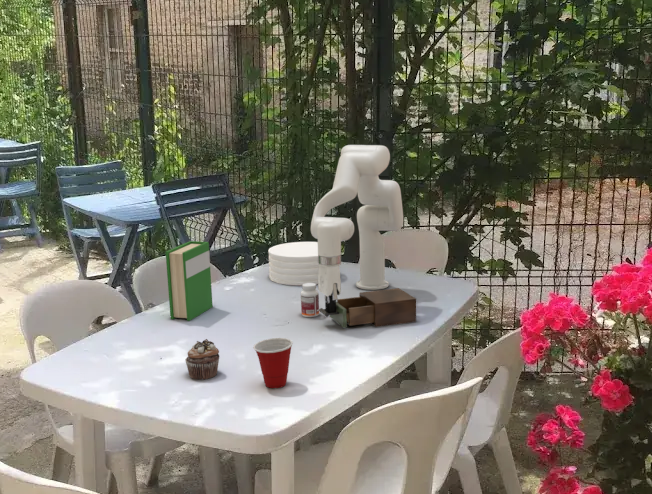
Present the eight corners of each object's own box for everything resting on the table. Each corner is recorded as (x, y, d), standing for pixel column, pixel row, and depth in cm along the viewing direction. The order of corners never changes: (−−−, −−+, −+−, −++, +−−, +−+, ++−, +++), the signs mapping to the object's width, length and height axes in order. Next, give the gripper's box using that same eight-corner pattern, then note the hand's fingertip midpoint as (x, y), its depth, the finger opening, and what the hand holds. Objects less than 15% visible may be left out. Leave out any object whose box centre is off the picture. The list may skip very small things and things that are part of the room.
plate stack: (258, 282, 342) (256, 254, 339) (285, 266, 367) (284, 240, 364) (323, 287, 331) (323, 258, 328) (347, 270, 356) (347, 243, 353)
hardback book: (189, 320, 295) (184, 252, 288) (170, 319, 297) (165, 251, 291) (212, 306, 311) (208, 242, 304) (194, 305, 313) (190, 241, 307)
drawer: (329, 329, 278) (328, 311, 276) (316, 318, 290) (315, 300, 288) (381, 323, 283) (381, 304, 281) (366, 312, 295) (366, 294, 294)
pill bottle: (311, 311, 301) (310, 281, 298) (322, 315, 297) (322, 284, 294) (297, 315, 298) (296, 284, 295) (309, 318, 293) (308, 287, 290)
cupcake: (206, 366, 251) (204, 333, 248) (227, 374, 244) (225, 340, 242) (179, 375, 245) (177, 341, 242) (200, 383, 238) (198, 349, 235)
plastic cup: (254, 378, 240) (252, 337, 237) (292, 376, 241) (291, 335, 238) (255, 393, 230) (253, 350, 227) (295, 390, 231) (294, 348, 227)
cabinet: (375, 327, 282) (375, 303, 280) (359, 315, 295) (359, 292, 293) (416, 322, 286) (416, 298, 284) (398, 310, 299) (398, 288, 297)
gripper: (311, 256, 285) (313, 309, 290) (326, 266, 271) (327, 321, 276) (332, 254, 287) (334, 306, 292) (348, 263, 273) (349, 318, 278)
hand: (330, 313), depth 284 cm, fingers closed
